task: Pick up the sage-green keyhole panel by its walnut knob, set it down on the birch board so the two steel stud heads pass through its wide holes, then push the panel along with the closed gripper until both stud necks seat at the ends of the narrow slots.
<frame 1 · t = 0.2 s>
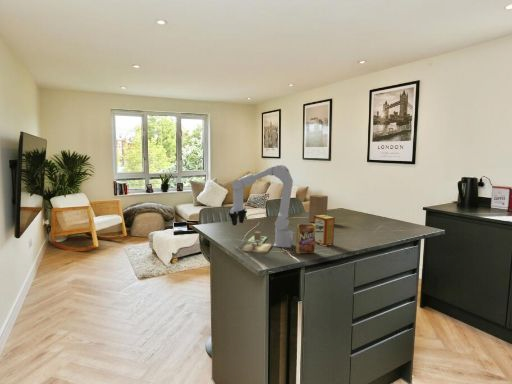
hand: (237, 224, 186), 10 cm above the worktop, tool pointing down, fingers open, 7 cm apart
stud board: (257, 248, 173), on the worktop
baking soda box: (323, 244, 186), on the worktop
candy box: (305, 253, 167), on the worktop
keyhole panel: (257, 240, 189), on the worktop
wooden block: (317, 222, 245), on the worktop
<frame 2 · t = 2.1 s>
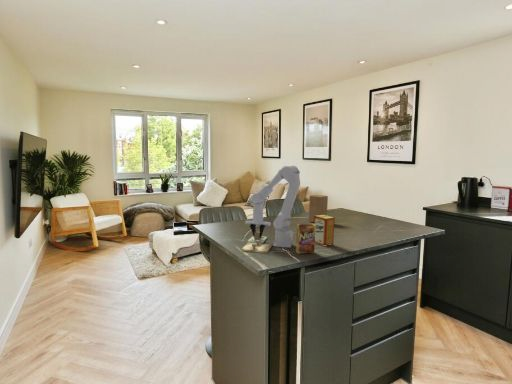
hand: (257, 237, 189), 2 cm above the worktop, tool pointing down, fingers closed on keyhole panel, 3 cm apart
keyhole panel: (257, 240, 189), on the worktop, touching gripper
everything else where it was.
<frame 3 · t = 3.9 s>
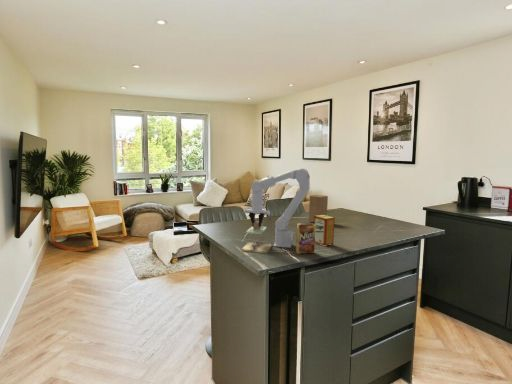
hand: (256, 226, 183), 9 cm above the worktop, tool pointing down, fingers closed on keyhole panel, 3 cm apart
keyhole panel: (256, 230, 183), point 7 cm above the worktop, touching gripper
everything else where it was.
when the fingers open (4 cm above the worktop, at t = 6.0 s): keyhole panel stays where it is, resting on stud board.
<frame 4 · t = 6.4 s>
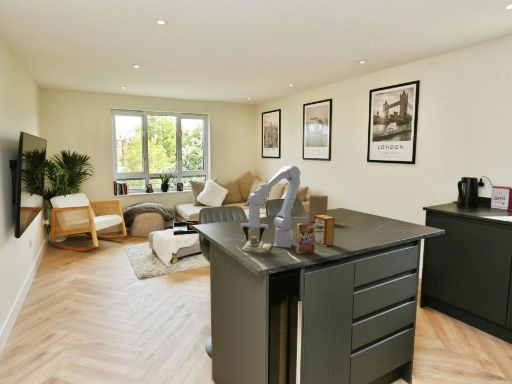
hand: (253, 241, 173), 4 cm above the worktop, tool pointing down, fingers open, 6 cm apart
keyhole panel: (253, 246, 174), point 1 cm above the worktop, touching stud board
everything else where it was.
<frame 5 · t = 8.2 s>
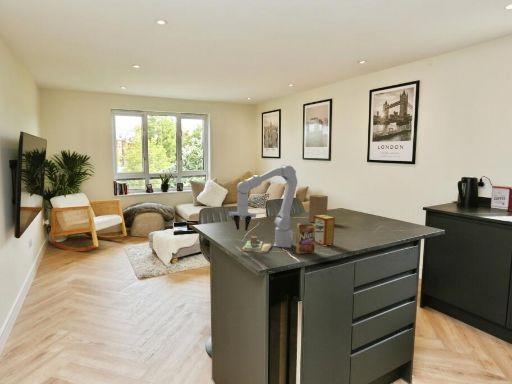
hand: (242, 229, 174), 9 cm above the worktop, tool pointing down, fingers open, 4 cm apart
nothing on the worktop moved.
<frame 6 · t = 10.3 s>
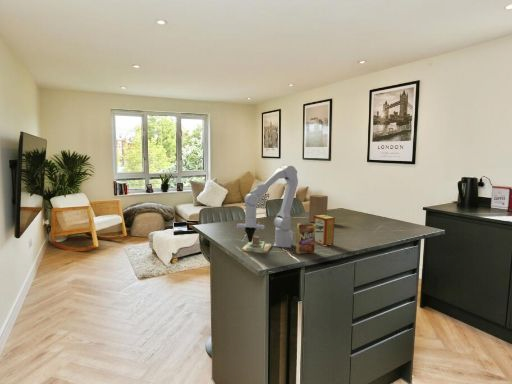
hand: (250, 241, 174), 3 cm above the worktop, tool pointing down, fingers closed
keyhole panel: (255, 246, 174), point 1 cm above the worktop, touching gripper
everything else where it was.
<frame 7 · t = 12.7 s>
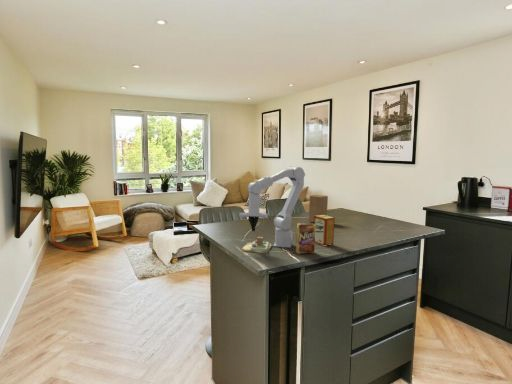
hand: (253, 230, 173), 9 cm above the worktop, tool pointing down, fingers closed
keyhole panel: (259, 246, 173), point 1 cm above the worktop, touching stud board
everything else where it was.
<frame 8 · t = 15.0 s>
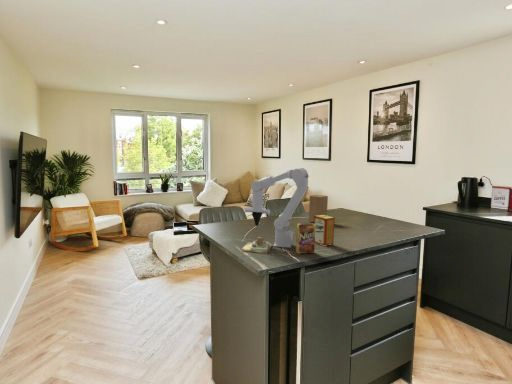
hand: (256, 225, 186), 9 cm above the worktop, tool pointing down, fingers closed
nothing on the worktop moved.
at the end: keyhole panel 0.6 cm from the target spot on the stud board, point 1.0 cm above the stud board's base; keyhole panel tilted 0°; the gripper is holding nothing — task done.
